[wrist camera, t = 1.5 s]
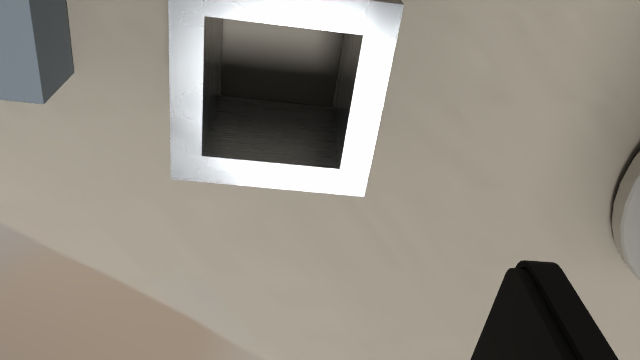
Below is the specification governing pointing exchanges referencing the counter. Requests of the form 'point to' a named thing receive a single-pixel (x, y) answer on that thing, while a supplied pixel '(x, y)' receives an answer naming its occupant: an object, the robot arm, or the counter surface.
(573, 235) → the counter surface
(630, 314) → the counter surface
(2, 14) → the shaft block
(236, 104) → the grey open box
